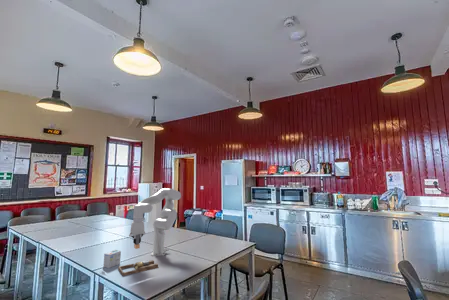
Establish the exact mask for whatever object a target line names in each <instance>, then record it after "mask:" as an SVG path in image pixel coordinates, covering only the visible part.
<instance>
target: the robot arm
mask: <svg viewBox="0 0 449 300" xmlns="http://www.w3.org/2000/svg"><path fill="white" fill-rule="evenodd" d="M181 198H182V193H181V191H179V190H176V189H173V188H168V187H167V188H166V187H164V188H160V190H158V191H157V192H156V193H154V194H153V195H150V196H148V197H146V198H144V199H142V200H141V201H140V202H138V203H137V204H134V206H133V216H132V217H133V219H132V222H131V224H130V231H129V232H130V233H129V235H128V236H129V237H131V238H132V239H133V242H132V243H133V245H134V244H136V235H139V234H140V239H139V244H141V242H142V237H143V236H145V235H146V231H145V221H144V220H146V219H145V217H144V214H146V213H147V214H148V213H151V212H152V211H153V205H156V204H159V203H160V202H162V201H163V200H164V199H165V204H164V205H163V208H162V210H161V212H160V215H159V216H160V218H156V219H154V221H153V224H152V225H153V246H152V247H153V251H152V252H151V253H150V254H151V256H152V257H156V256H161V257H162V256H163V257H164V256H165V255H167V253H166V252H170V248H165V239H166V238H165V237H166V236H165V235H166V233H165V231H170V230H171V229H172V227H173V224H174V223H175V221H176V219H177V215H178V213H177V210H176V209H174V207H175V205H174V202H173V201H178V200H180V199H181Z"/></svg>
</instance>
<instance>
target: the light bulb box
mask: <svg viewBox="0 0 449 300" xmlns="http://www.w3.org/2000/svg"><path fill="white" fill-rule="evenodd" d="M121 253H122V251H121V250H118V249H114V250H112V251H108V252H105V253H103V254H104V255H103V266H102V267H103V268H108V269H111V268H113V267H115V266H117V265H120V264H121V256H122V255H121Z"/></svg>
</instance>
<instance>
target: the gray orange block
mask: <svg viewBox="0 0 449 300" xmlns="http://www.w3.org/2000/svg"><path fill="white" fill-rule="evenodd" d="M139 239H140V234H139V235H136V244H134V243H133V247H134V249H135V250H139V249H140V248H141V247H140V244H141V243H139Z"/></svg>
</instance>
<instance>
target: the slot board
mask: <svg viewBox="0 0 449 300" xmlns="http://www.w3.org/2000/svg"><path fill="white" fill-rule="evenodd" d="M148 261H149V265H147V266H142V267H138V268H137V270H136V269H133V270H129V271H123V270H124V269H129V268H135V263H130V264H125V265H120V266H118V268H117V270H118V271H119V273H120V275H121V276H122V277H124V276H129V275H134V274H137V273H141V272H145V271H150V270H155V269H159V263H158V262H157V263H155V260H154V259H151V260H148Z"/></svg>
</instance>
